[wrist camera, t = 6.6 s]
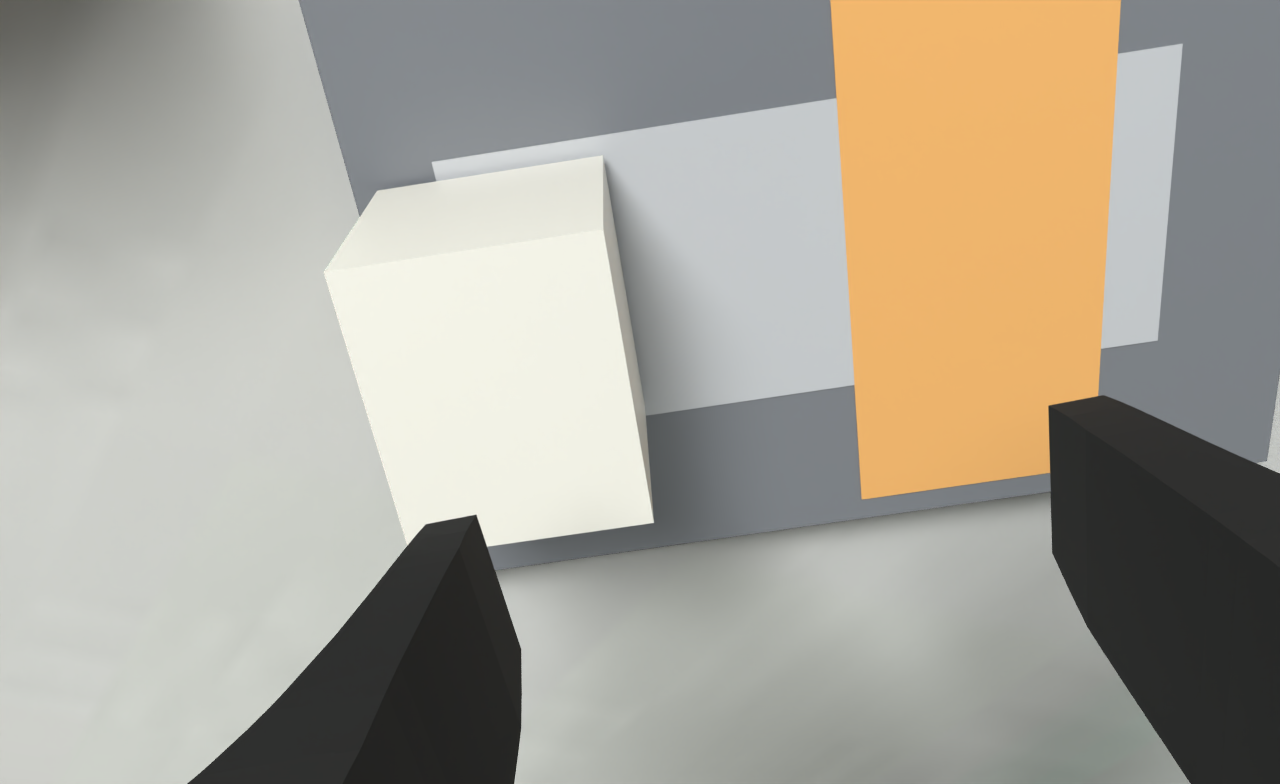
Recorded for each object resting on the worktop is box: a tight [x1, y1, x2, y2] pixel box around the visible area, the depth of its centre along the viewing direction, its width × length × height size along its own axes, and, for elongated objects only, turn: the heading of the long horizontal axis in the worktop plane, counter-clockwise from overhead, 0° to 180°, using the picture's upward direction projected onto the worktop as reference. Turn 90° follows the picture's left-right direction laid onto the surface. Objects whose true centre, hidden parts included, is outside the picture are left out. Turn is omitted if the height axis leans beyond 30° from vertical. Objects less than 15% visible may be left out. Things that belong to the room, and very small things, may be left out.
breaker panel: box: [299, 0, 1280, 570], centre depth 20 cm, size 17×12×1 cm
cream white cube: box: [324, 155, 654, 547], centre depth 18 cm, size 4×5×4 cm
